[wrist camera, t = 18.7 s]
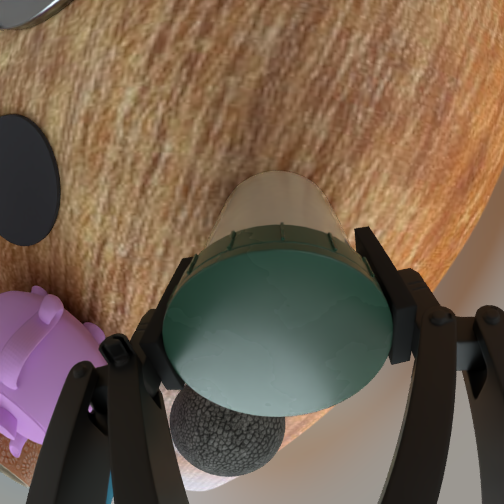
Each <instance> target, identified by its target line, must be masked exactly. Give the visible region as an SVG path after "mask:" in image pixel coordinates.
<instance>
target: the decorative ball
mask: <svg viewBox="0 0 504 504" xmlns="http://www.w3.org/2000/svg"><path fill="white" fill-rule="evenodd" d="M170 431H171V435H172V439H173V442H174V444H175V446H176V448H177V449H178V451H179V452H180V453H181V455H182V456H183V457H184V458H185V459H186V460H187V461H188V462H190V463H191V464H192V465H193V466H195V467H196V468H198V469H200V470H202V471H204V472H207V473H209V474H213V475H217V476H226V477H232V476H240V475H244V474H248V473H251V472H253V471H255V470H257V469H259V468H261V467H262V466H264V465H265V464H266V463H268V462H269V461H270V460H271V459H272V458H273V456H274V455H275V454H276V452H277V451H278V449H279V447H280V446H281V443H282V441H283V437H284V433H285V417H267V416H257V415H251V414H245V413H241V412H237V411H234V410H231V409H228V408H225V407H222V406H220V405H218V404H216V403H214V402H211V401H210V400H208V399H206V398H204V397H203V396H201V395H200V394H198V393H197V392H196V391H194V390H193V389H192V388H190V387H189V386H188V385H187V384H186V385H185V386H184V388H183V390H181V391H180V392H179V394H178V395H177V397H176V398H175V401H174V403H173V405H172V409H171V413H170Z"/></svg>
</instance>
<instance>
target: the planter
mask: <svg viewBox="0 0 504 504" xmlns="http://www.w3.org/2000/svg"><path fill="white" fill-rule="evenodd" d="M9 443H10V439H9V438H7V437H6V436H4V435H3V434H1V433H0V472H2V473H3V474H5V475H6V476H8V477H9V478H11V479H12V480H14V481H16V482H18V483H19V484H21V485H23V486H25V487H30V484H31V481H32V477H33V474H34V470H35V467H36V463H37V460H38V456H39V453H40V450H41V447H42V445H41V444H38V443H36V442H34V441H31V440H30V439H27V441H26V442H25V444H24V446H23V448H22V451H21V454H20V456H19V457H18V458H16V457H14V456H13V455H12V453H11V452H10V448H9Z"/></svg>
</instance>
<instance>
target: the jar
mask: <svg viewBox="0 0 504 504" xmlns="http://www.w3.org/2000/svg"><path fill="white" fill-rule="evenodd" d="M280 222H284V225H296V226H303V227H308V228H312V229H315V230H319V231H322V232H325V233H327V234H328V232H330V233H332V236H334V237H336V238H338V239H339V240H341V241H343V242H344V243H346V244H348V245H349V246H350V247H351V245H350V243H349V241H348V238H347V236H346V234H345V232H344V230H343V228H342V226H341V224H340V222H339V220H338V218H337V216H336V214H335V212H334V210H333V208H332V206H331V204H330V202H329V200H328V198H327V197H326V195H325V194H324V193H323V191H322V190H321V189H320V188H319V187H318V186H317V185H316V184H314V183H313V182H312V181H310V180H309V179H307V178H305V177H303V176H301V175H299V174H296V173H292V172H287V171H268V172H263V173H259V174H257V175H254V176H252V177H250V178H248V179H246V180H245V181H243V182H242V183H241V184H239V185H238V186H237V187H236V188H235V189H234V190H233V191H232V193H231V194H230V195H229V197H228V199H227V201H226V202H225V204H224V207H223V209H222V211H221V213H220V215H219V217H218V219H217V222H216V224H215V226H214V228H213V230H212V232H211V235H210V237H209V239H208V241H207V243H206V246H205V248H207V247H208V246H210V245H211V244H212V243H214V242H216V241H217V240H219V239H221V238H223V237H225V236H227V235H229V234H231V231H233V230H234V231H235V232H237V231H240V230H243V229H247V228H252V227H256V226H264V225H273V224H278V225H280ZM205 248H204V249H205ZM351 248H352V247H351Z"/></svg>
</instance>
